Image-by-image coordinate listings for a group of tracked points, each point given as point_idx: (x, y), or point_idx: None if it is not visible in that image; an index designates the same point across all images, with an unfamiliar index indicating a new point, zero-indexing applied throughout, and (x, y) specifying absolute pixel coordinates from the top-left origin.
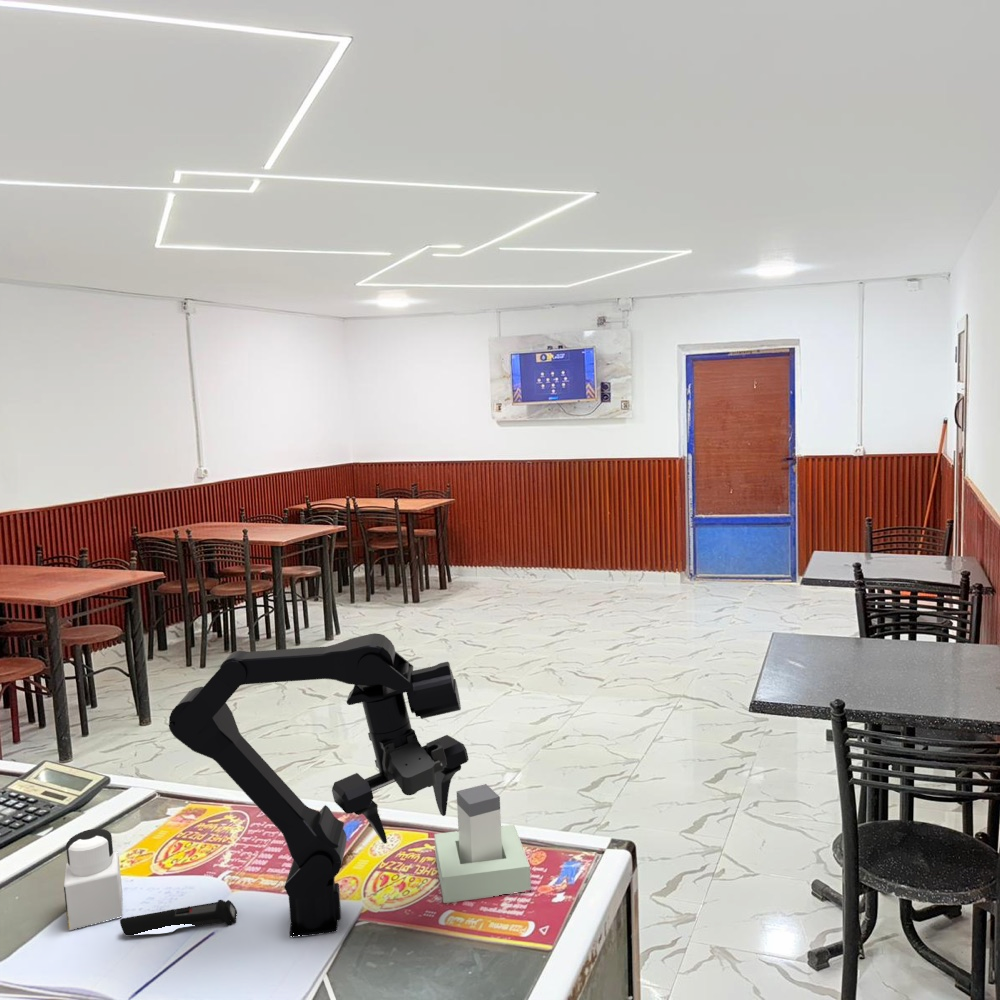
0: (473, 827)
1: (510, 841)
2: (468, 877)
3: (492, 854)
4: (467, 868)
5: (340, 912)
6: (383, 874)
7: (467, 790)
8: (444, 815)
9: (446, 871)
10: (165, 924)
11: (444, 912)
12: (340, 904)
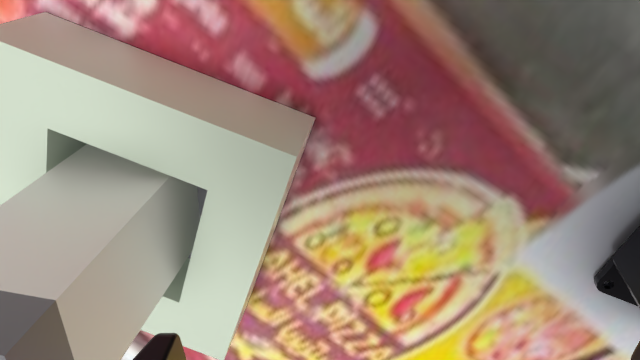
0: (77, 259)
1: None
2: (208, 116)
3: (87, 173)
4: (193, 154)
5: (636, 237)
6: (398, 323)
7: None
8: (167, 333)
9: (268, 180)
10: None
11: (334, 73)
12: (617, 266)
